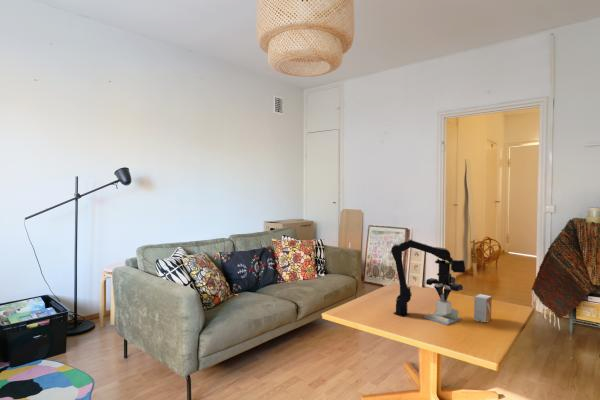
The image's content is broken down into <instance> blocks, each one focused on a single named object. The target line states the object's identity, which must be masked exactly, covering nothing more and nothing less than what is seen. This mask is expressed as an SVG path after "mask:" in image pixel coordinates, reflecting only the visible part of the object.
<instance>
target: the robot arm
mask: <svg viewBox="0 0 600 400" xmlns="http://www.w3.org/2000/svg"><path fill="white" fill-rule="evenodd" d="M410 248H412V249H416V250H419V251H421V252H424V253H427V254H431V255H433V256H434V257H436V258H437V259H436V260H435V261H434V263H435V264H438V273H436V276H437V277H438V279H436V278H432V277H431V278H427V279H426V281H425V284H426V285H428V286H432V285H434V286H433V288H434V289H435V290H436V292H437V294H438V296H439V298H440V299H439V300H441V294H443V293H444V299H445V301H446V300H447V301H448V298H449V297H450V296H449V295H450V293H451V291H454V292H460V291H463V290H464V286H463V285H462V283H457V282H456V280H457V279H456V277H454V276H452V273H456V274H457V273H459V274H465V272H466V267H465V266H466V265H465V260H464V259H460V260H459V259H453V257H452V256H451V252H450V250H449V249H447V248H444V247H439V246H437V247H436V246H432V245H428V244H426V243H422V242H420V241H419V242H418V241H416V240H413V239H410V238H409V239H407V240H406V241H404V242H402V243H399V244H398V243H397V244H396V243H395V244H393V246H392V247H391V250H390V252H391V255H392V258H393V259H394V262H395V266H396V267H395V268H396V271H397V277H398V282H399V295H398V296H397V297H396V299H395V311H394V312H393V314H394V315H397V316H400V317H405V316H406V317H407V316H409V315H410V313H409V312H408V303H409V302H410V301H411V298H412V294H413V293H412V291H411V286H408V284H407V279H406V273H405V269H404V263H403V252H404V251H406V250H408V249H410ZM451 271H452V273H450V272H451ZM444 287H445V288H444Z"/></svg>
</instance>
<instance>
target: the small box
mask: <svg viewBox="0 0 600 400" xmlns="http://www.w3.org/2000/svg"><path fill="white" fill-rule="evenodd" d="M492 297H493V296H491V295H487V294H482V293H479V294H476V295H475V296H474V298H473V299H474V300H473V301H474V302H473V303H474V304H473V305H474V306H473V309H474V310H473V311H474V312H473V321H475V320H476V321H475V322H479V321H481V322H480V323H483V322H487V321H488V322H490V321H491V320H492ZM490 319H491V320H490ZM489 320H490V321H489ZM488 322H487V323H488Z"/></svg>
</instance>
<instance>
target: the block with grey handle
mask: <svg viewBox="0 0 600 400" xmlns="http://www.w3.org/2000/svg"><path fill="white" fill-rule="evenodd" d="M451 308H452V301H448V299H447V300H446V301H445V299H444V292H443V294H441V299H438V300H436V302H435V312H438V313H442V314H445V315H447V314H450V313H451Z"/></svg>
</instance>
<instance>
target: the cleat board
mask: <svg viewBox="0 0 600 400" xmlns="http://www.w3.org/2000/svg"><path fill="white" fill-rule="evenodd" d="M423 319H426V320H429V321H432V322H436V323H438V324H441V325H445V326H450V325H452V324H455V323H458V322H460V321H462V317H459V310H458V309H455V308H452V307H451V313H450V314H447V315H445V314H442V313H438V312H436V311H435V312H433V313H430V312H429V313H427V315H424V316H423Z"/></svg>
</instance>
